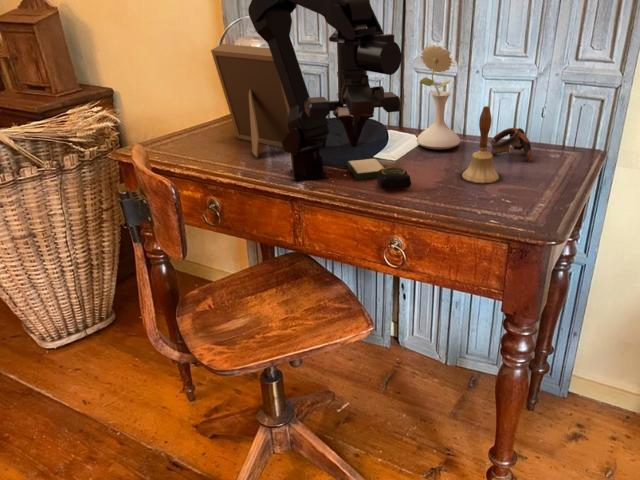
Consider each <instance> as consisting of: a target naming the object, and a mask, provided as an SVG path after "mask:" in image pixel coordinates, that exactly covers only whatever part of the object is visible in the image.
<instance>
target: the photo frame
mask: <svg viewBox="0 0 640 480" xmlns="http://www.w3.org/2000/svg"><path fill="white" fill-rule="evenodd" d="M210 52H211V55H212V59H213V62H214V65H215V69H216V72H217V74H218V78H219V82H220V85H221V88H222V92H223V94H224V98H225V101H226V104H227V107H228V111H229V114H230V117H231V120H232V121H231V122H232V125H233V127H234V130H235V134H236V138H237V139H238V140H244V141H248V142H251V151H252V152H251V153H252V154H253V156H255V157H256V158H260V144H265V145H268V146H274V147H280V148H283V145H282V141H283V140H284V138H285V137H286V136H287V134H288V133H289V128H288V124H287V122H288V116H289V111H290V108H289V105H288V102H287V99H286V96H285V93H284V90H283V87H282V84H281V81H280V78H279V75H278V72H277V69H276V66H275V63H274V60H273V57H272V54H271V51H270V48H269V47H263V46H261V47H260V46H252V45H251V46H249V45H240V44H228V43H221V44H220V45H217V46H215V47H214V48H212V49H210Z"/></svg>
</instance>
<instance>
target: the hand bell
mask: <svg viewBox="0 0 640 480" xmlns="http://www.w3.org/2000/svg"><path fill="white" fill-rule="evenodd" d="M478 126H479V127H478V128H479V133H480V139H479V149H478V151H475V152H473V153H472V156H471V160H470V164H469V166H468V167H467V168H466V170H464V171H463V173H461V177H462V179H464V180H465V181H467V182H470V183H474V184H491V183H492V184H493V183H495V182H497V181H499V179H500V176H499V173H498V172H497V171H496V170H495V168H494V161H493V157H494V155H493V154H492V153H491V152H489V151H488V138H489V134H490V130H491V126H492V114H491V109H490V106H488V105H487V106H486V105H485V106H483V108H482V111H481V113H480V116H479V120H478Z"/></svg>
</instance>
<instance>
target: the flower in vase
mask: <svg viewBox="0 0 640 480" xmlns="http://www.w3.org/2000/svg"><path fill="white" fill-rule="evenodd" d="M442 47H443V46H441V45H439V46H437V45H436V44H433V45H430V44H429V45H428V46H427V47H424V48H423V49H422V52H421V55H420V59H421V60H422V63H423V64H424V65H425V67H426V68H427V69H429V71H430V70H431V71H432V73H431V78H429V77H427V76H425V77H422V79H421V80H420V81H419V84H421V85H425V86H427V87H431V86H432V85H434V87H435V89H436V91H432V92H430V95H431V96H432V98H433V102H434V109H435V110H434V111H435V113H434V114H435V115H434V121H433V122H432V124H430V125H429V126H428V127H427V128H426V129H424V130H422V132H420V133H419V135H417V138H416V142H417V144H418V145H419V146H421V147H423V148H425V149H430V150H439V151H441V150H442V151H443V150H448V149H449V150H451V149H452V148H455V147H457V146H459V144H460V143H461V138H460V137H459V135H458V134H457V133H456V132H455V131H454V130H453V129H452V128H450V127H449V126H448V125H447V123H446V121H445V109H446V104H447V102H448V99H449V97H450V96H451V95H452V93H451V92H450V91H446V90H445V91H444V90H443V91H442V90H441V91H440V90H439V88H443V87H445V86H447V85H448V84H449V83H450V82H451V81H452V79H450V80H448V81H444V82H442V83H440V85H439V86H437V85H436V82H435V79H434V73H436V72H437V73H442V72H446V71H450V69H451V68H450V67H452V64H453V59H452V57H451V54H450V52H448V50H447V49H443V48H442Z"/></svg>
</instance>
